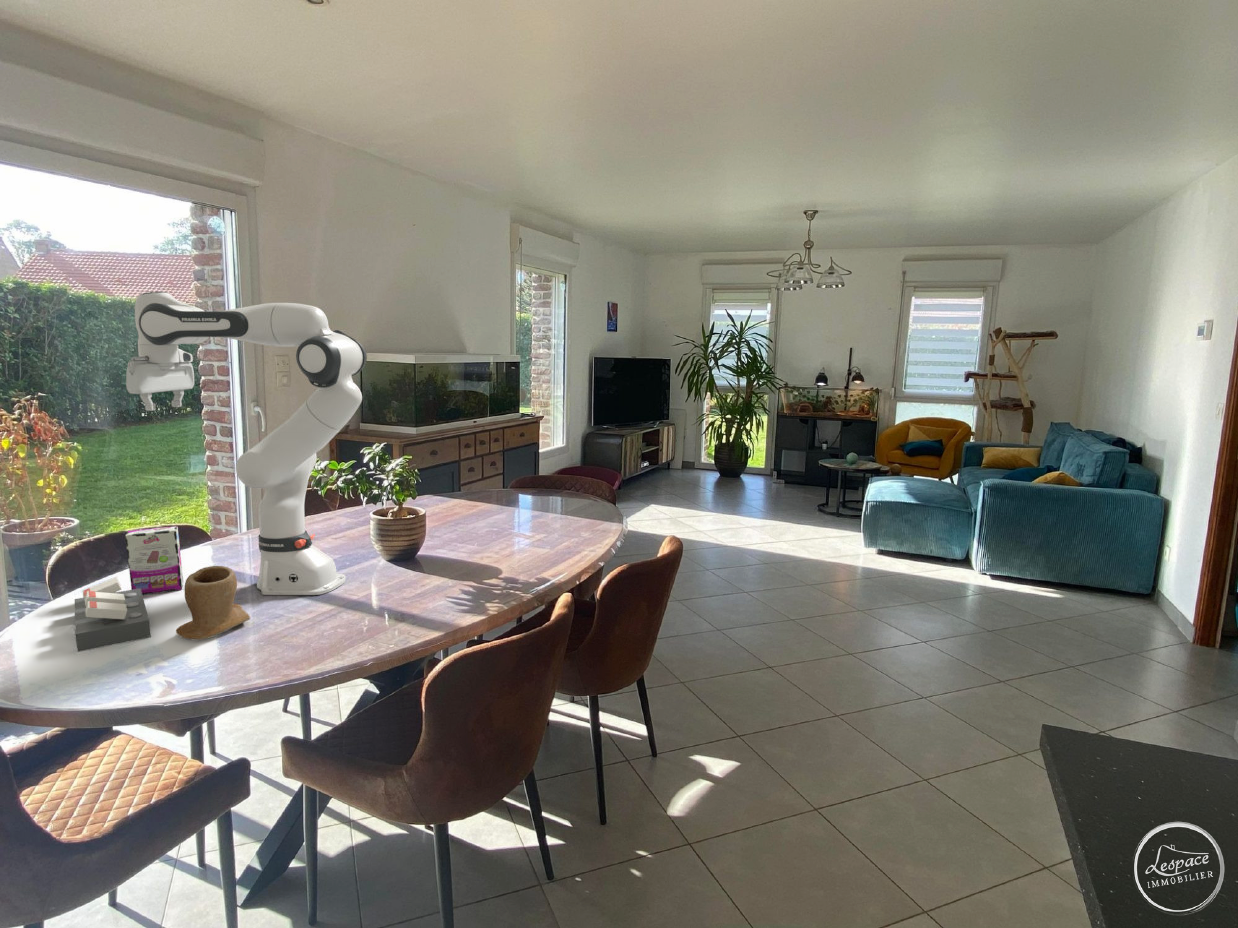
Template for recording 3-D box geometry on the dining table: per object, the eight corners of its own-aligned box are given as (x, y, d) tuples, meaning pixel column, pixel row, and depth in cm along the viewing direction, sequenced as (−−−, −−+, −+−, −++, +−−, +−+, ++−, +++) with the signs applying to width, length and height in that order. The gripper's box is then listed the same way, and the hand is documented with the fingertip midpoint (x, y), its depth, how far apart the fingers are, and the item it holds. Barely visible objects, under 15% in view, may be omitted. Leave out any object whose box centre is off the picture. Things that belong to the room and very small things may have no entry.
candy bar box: (184, 584, 187) (178, 525, 184) (182, 590, 183) (176, 530, 180) (134, 590, 182) (127, 529, 179) (131, 596, 178) (124, 534, 175)
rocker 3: (123, 612, 157) (126, 603, 157) (124, 619, 153) (127, 609, 153) (85, 610, 152) (88, 600, 152) (85, 616, 149) (88, 607, 149)
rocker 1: (120, 583, 168) (116, 576, 167) (121, 589, 165) (117, 581, 164) (86, 598, 165) (82, 590, 164) (87, 604, 161) (82, 596, 160)
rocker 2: (121, 602, 163) (124, 593, 163) (122, 608, 159) (125, 599, 159) (84, 599, 158) (87, 590, 158) (85, 605, 155) (87, 596, 155)
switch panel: (142, 603, 174) (140, 583, 173) (150, 636, 155) (148, 614, 154) (76, 614, 166) (73, 594, 165) (77, 651, 147) (74, 628, 146)
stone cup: (204, 648, 150) (198, 582, 147) (168, 637, 155) (162, 573, 152) (265, 623, 164) (261, 562, 161) (230, 614, 169) (225, 555, 166)
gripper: (140, 357, 171) (145, 413, 173) (197, 355, 191) (201, 405, 193) (116, 356, 171) (122, 412, 174) (175, 354, 192) (179, 404, 194)
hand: (164, 408), depth 184 cm, fingers open, 8 cm apart
